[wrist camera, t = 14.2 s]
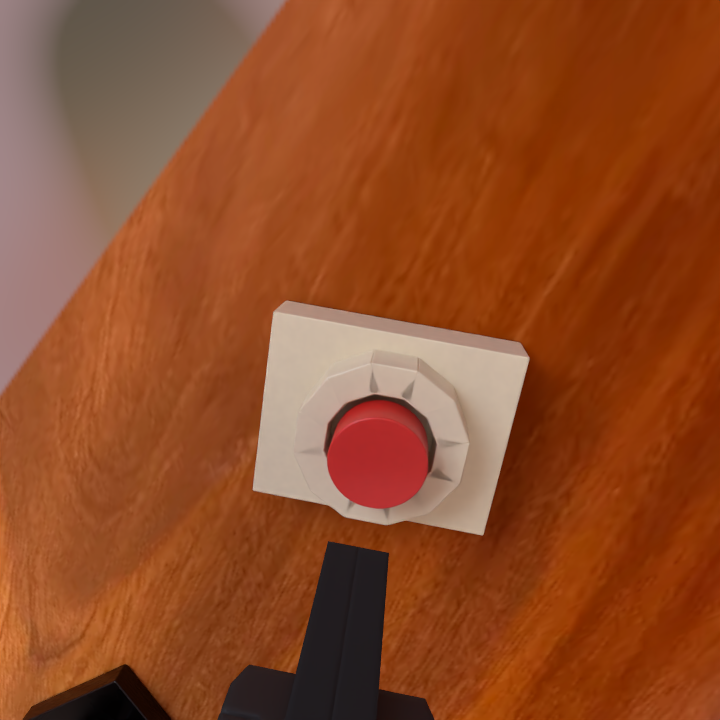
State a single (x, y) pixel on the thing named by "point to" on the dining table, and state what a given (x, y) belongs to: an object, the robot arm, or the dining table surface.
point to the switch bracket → (102, 700)
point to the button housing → (396, 384)
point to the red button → (378, 454)
